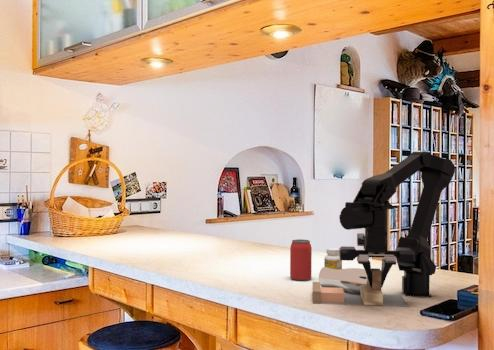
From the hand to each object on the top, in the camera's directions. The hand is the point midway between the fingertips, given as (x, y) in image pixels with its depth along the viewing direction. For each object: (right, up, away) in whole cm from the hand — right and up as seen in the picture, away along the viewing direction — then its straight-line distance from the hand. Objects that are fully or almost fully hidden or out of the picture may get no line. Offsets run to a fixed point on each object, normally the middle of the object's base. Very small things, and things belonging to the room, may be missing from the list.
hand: (376, 287), depth 137 cm
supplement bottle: (-7, -4, +27) cm, 28 cm away
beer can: (-17, -4, +28) cm, 33 cm away
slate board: (-4, -4, +2) cm, 6 cm away
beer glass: (-11, -1, +16) cm, 20 cm away
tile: (-11, -4, +1) cm, 12 cm away
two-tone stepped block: (-1, -3, 0) cm, 4 cm away
